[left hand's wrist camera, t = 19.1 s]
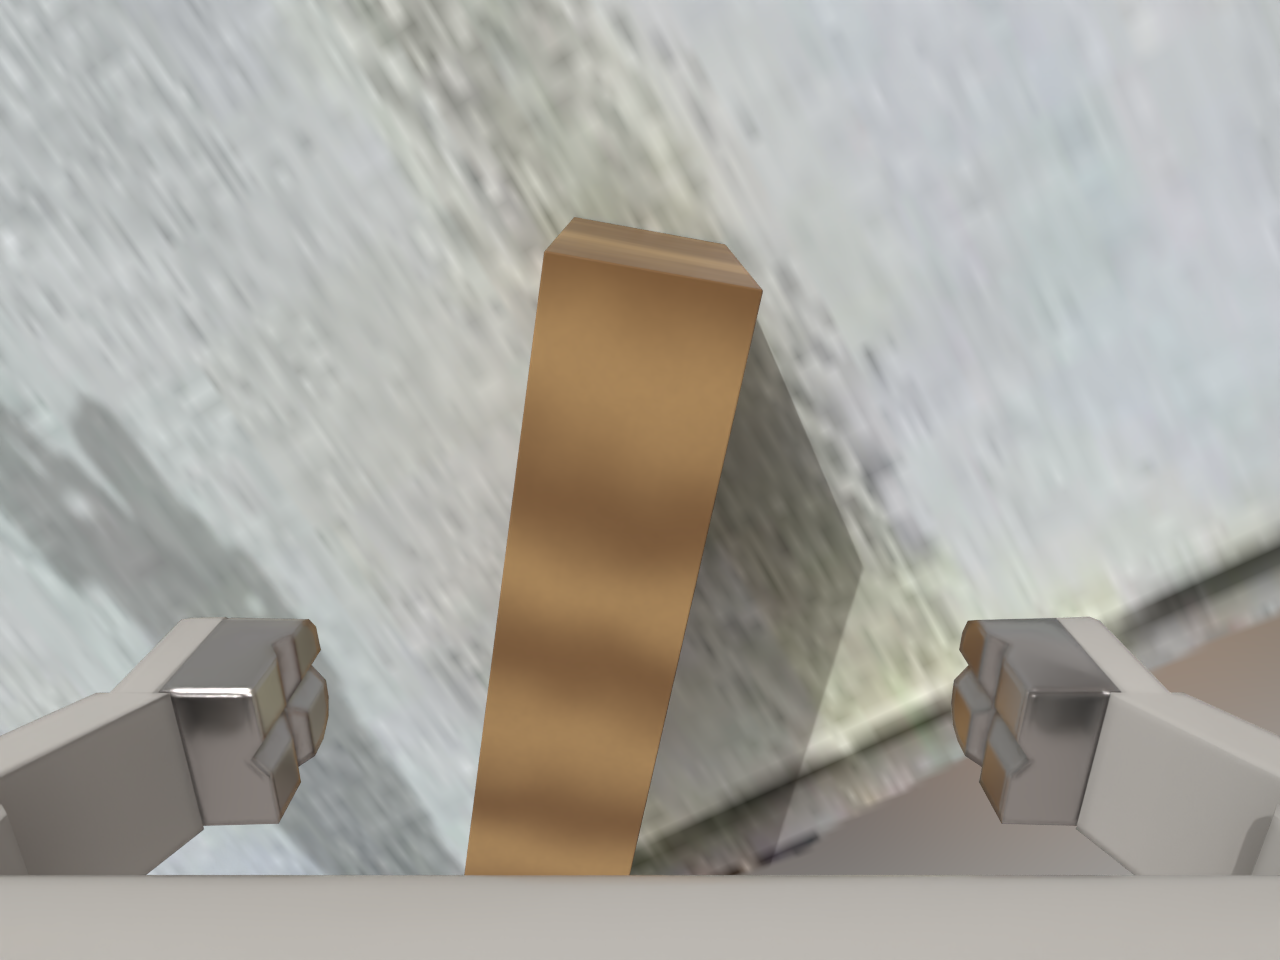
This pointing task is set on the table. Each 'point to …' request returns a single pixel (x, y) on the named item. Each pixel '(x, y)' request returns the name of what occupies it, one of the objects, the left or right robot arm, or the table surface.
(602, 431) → the box
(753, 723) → the table surface
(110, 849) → the left robot arm
